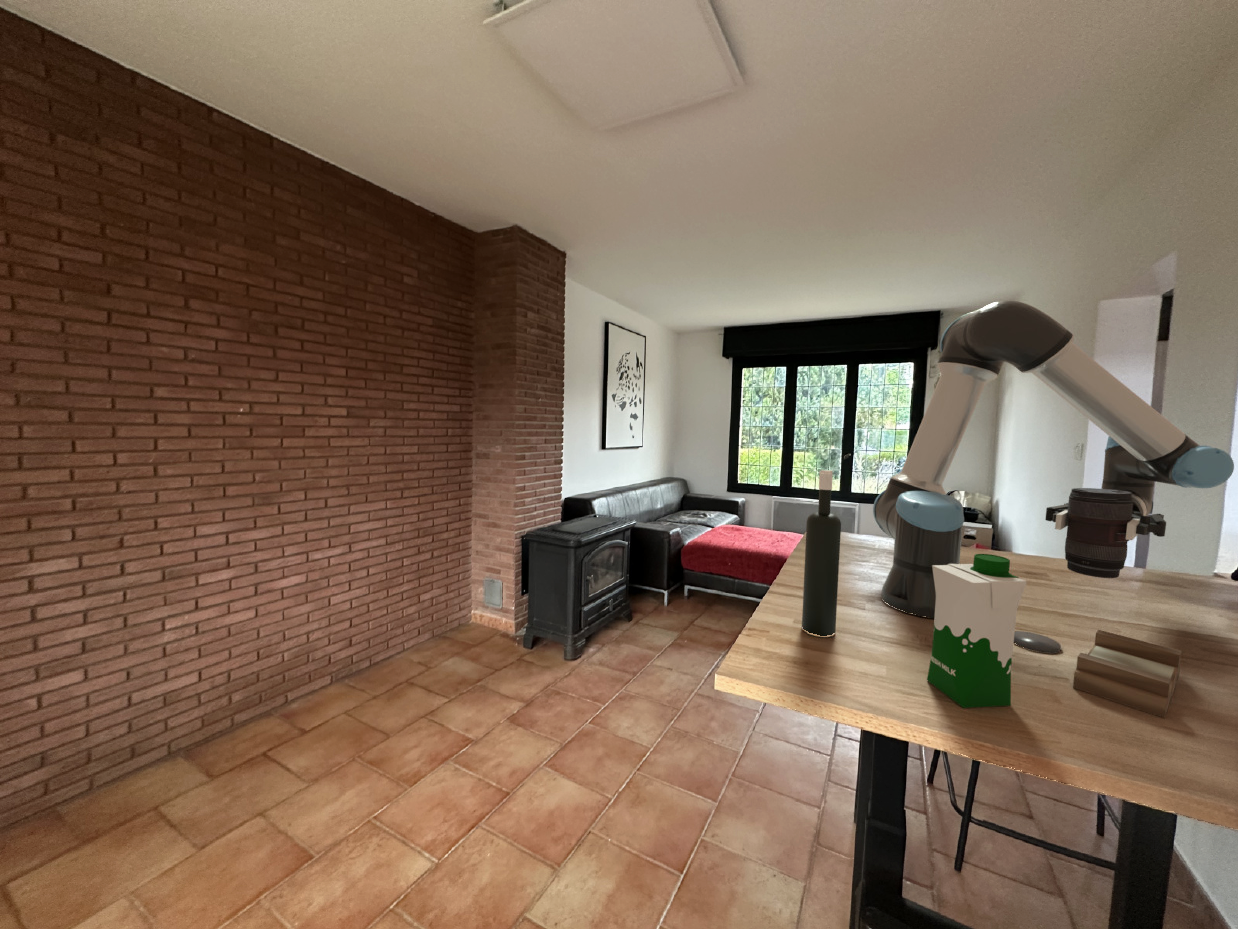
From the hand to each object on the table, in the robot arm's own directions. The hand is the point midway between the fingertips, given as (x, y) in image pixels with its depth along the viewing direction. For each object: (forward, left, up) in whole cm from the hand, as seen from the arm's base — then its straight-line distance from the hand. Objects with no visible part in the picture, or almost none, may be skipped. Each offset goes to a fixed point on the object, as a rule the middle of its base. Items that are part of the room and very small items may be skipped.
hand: (1092, 526), depth 83 cm
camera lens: (+2, +4, -9) cm, 10 cm away
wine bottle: (-43, -14, -21) cm, 50 cm away
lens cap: (-8, -4, -21) cm, 23 cm away
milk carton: (-23, -27, -21) cm, 41 cm away
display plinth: (0, -14, -21) cm, 25 cm away
